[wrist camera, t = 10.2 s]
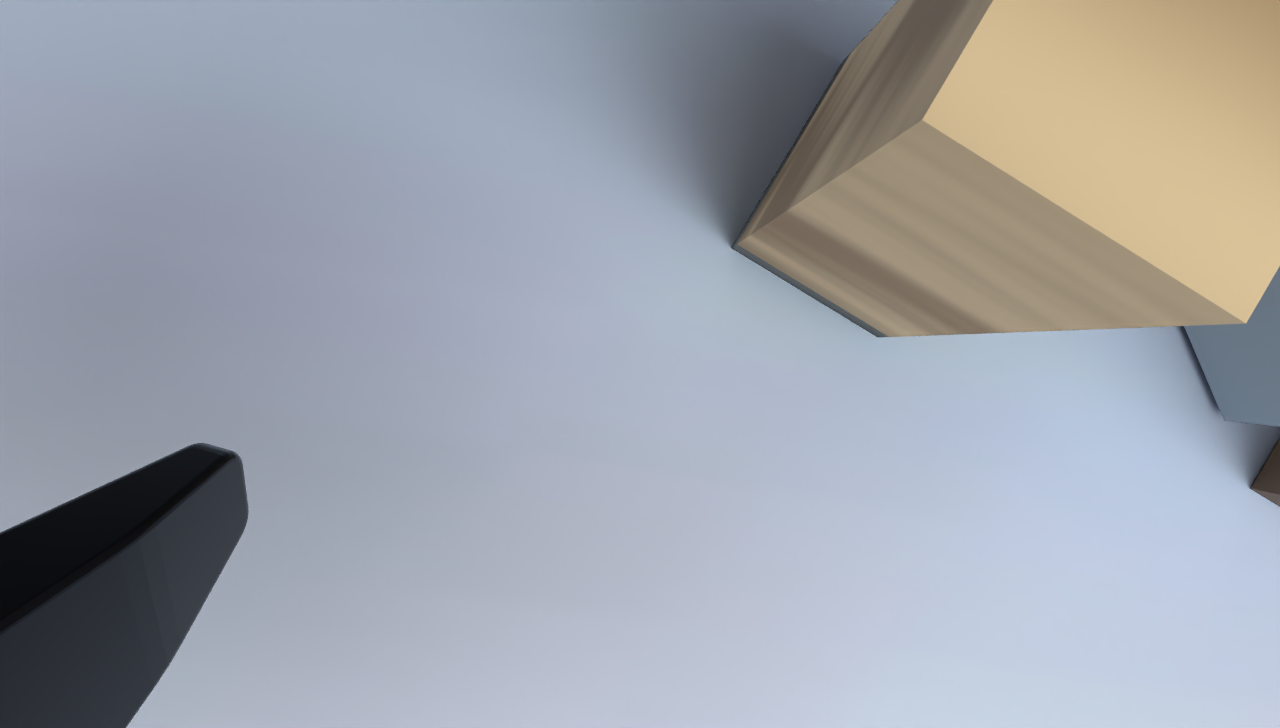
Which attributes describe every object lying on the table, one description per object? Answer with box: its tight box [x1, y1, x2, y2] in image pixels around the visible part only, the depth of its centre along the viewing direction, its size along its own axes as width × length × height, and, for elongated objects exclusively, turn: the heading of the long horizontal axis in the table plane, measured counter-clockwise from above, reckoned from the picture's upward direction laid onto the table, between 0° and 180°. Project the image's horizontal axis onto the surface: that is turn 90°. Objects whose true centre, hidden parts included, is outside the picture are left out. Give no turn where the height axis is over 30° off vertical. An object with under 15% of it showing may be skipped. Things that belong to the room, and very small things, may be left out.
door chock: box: [732, 0, 1280, 337], centre depth 16 cm, size 5×4×12 cm
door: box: [1184, 266, 1280, 427], centre depth 18 cm, size 1×13×9 cm, turn 24°
